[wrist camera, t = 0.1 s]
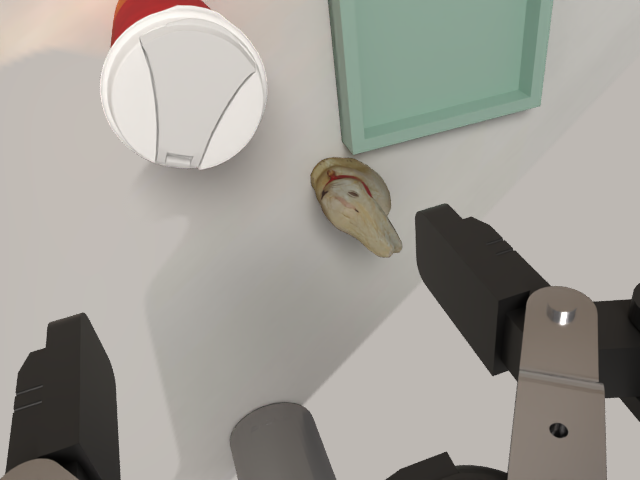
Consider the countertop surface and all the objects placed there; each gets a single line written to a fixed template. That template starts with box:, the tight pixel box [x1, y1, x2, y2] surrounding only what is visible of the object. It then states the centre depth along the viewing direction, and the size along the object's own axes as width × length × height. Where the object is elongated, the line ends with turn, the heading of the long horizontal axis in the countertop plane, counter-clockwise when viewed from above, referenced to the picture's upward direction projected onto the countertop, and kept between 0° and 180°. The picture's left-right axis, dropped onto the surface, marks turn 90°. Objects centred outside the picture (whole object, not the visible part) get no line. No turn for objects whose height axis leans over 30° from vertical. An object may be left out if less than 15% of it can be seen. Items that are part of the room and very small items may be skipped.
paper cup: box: [100, 0, 268, 170], centre depth 32 cm, size 8×8×14 cm
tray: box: [328, 0, 553, 155], centre depth 42 cm, size 18×16×2 cm
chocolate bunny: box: [311, 157, 402, 258], centre depth 45 cm, size 6×8×10 cm
